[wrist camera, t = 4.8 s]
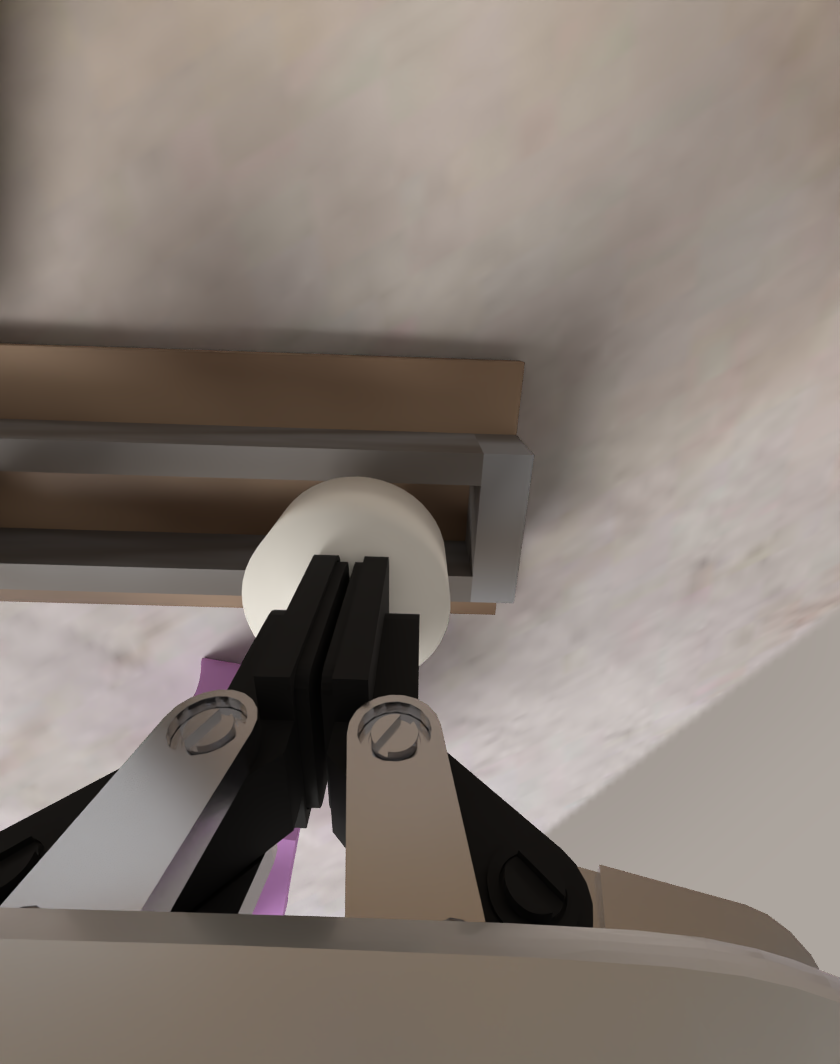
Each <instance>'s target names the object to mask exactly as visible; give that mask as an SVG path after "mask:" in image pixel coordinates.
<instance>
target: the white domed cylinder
mask: <svg viewBox="0 0 840 1064" xmlns="http://www.w3.org/2000/svg"><path fill="white" fill-rule="evenodd" d="M314 555H339V557H340V562H348V565H349V580H350V577H351V574H352V571H353V567H354V564H355V562H363V560H364V557H365V556H374V557H389V613H400V614H420V624H419V666H420V665H421V664H422V663H423V662H425V661H426V660H427V659H428V658H429V657H430V656H431V654H432V653H433V652H434V651H435V650H436V648H437V647H438V645H439V644H440V642H441V640H442V638H443V636H444V634H445V632H446V629H447V625H448V622H449V616H450V591H449V582H448V572H447V563H446V554H445V547H444V541H443V538H442V535H441V531H440V529H439V527H438V525H437V523H436V521H435V520H434V518H433V517H432V515H431V514H430V512H429V511H428V510H427V509H426V508H425V506H424V505H423V504H422V503H421V502H419V501H418V500H417V499H416V498H415V497H414V496H412V495H411V494H409V493H408V492H406V491H405V490H403V489H401V488H399V487H397V486H395V485H393V484H391V483H388V482H385V481H382V480H378V479H374V478H368V477H358V476H357V477H341V478H335V479H331V480H328V481H324V482H321V483H319V484H317V485H315V486H313V487H311V488H309V489H308V490H306V491H304V492H303V493H301V494H300V495H299V496H298V497H297V498H296V499H294V500H293V502H292V503H291V504H290V505H289V506H288V507H287V508H286V510H285V511H284V512H283V514H282V515H281V516H280V518H279V519H278V520H277V522H276V523H275V524H274V526H273V527H272V529H271V530H270V531H269V533H268V534H267V535H266V537H265V538H264V539H263V541H262V542H261V543H260V545H259V546H258V547H257V549H256V550H255V552H254V553H253V555H252V557H251V558H250V560H249V563H248V565H247V567H246V570H245V574H244V578H243V583H242V604H243V609H244V613H245V617H246V619H247V622H248V624H249V627H250V629H251V630H252V632H253V634H254V636H255V638H256V636H257V635H258V633H259V631H260V629H261V627H262V625H263V624H264V622H265V620H266V618H267V616H268V615H269V613H270V612H271V611H272V610H287V608H288V606H289V604H290V602H291V600H292V597H293V595H294V593H295V591H296V589H297V587H298V585H299V583H300V581H301V579H302V577H303V575H304V573H305V571H306V569H307V567H308V565H309V563H310V561H311V559H312V557H313V556H314Z"/></svg>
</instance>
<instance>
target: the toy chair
mask: <svg viewBox="0 0 840 1064" xmlns="http://www.w3.org/2000/svg"><path fill="white" fill-rule="evenodd" d="M240 665H241V664H237V663H231V662H226V661H220V660H214V659H208V658H202V661H201V674H200V681H199V684H198V687H197V690H196V692H195V694H194V696H196V695H199V694H202V693H204V692H209V691H214V690H227V689H228V687H229V685H230V684H231V682H232V680H233V678H234V676H235V675H236V673H237V671H238V669H239V667H240ZM194 696H193V697H194ZM299 832H300V828H294V831H292V832H291V833H290V834H289V835H287V836H286V837H285V838H283V839H282V840H281V841H280V842H278V843H277V853H276V857H275V861H274V864H273V866H272V868H271V871H270V873H269V876H268V878H267V880H266V883H265V885H264V887H263V890H262V892H261V894H260V897H259V899H258V901H257V904H256V906H255V909H254V911H253V913H252V914H254V915H284V914H285V911H286V906H287V902H288V893H289V887H290V881H291V875H292V869H293V864H294V858H295V853H296V848H297V843H298V837H299Z"/></svg>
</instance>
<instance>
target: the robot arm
mask: <svg viewBox="0 0 840 1064" xmlns="http://www.w3.org/2000/svg"><path fill="white" fill-rule="evenodd" d="M419 624H420V614H400V613H389V557H374V556H365V557H364V560H363V562H355V564H354V567H353V571H352V574H351V577H350V580H349V565H348V562H340V557H339V555H314V556H313V557H312V559H311V561H310V563H309V565H308V567H307V569H306V571H305V573H304V575H303V577H302V579H301V581H300V583H299V585H298V587H297V589H296V591H295V593H294V595H293V597H292V600H291V602H290V604H289V606H288V608H287V610H272V611H271V612H270V613H269V615H268V616H267V618H266V620H265V622H264V624H263V625H262V627H261V629H260V631H259V633H258V635H257V636H256V638H255V640H254V642H253V644H252V645H251V647H250V649H249V651H248V653H247V655H246V656H245V658H244V660H243V662H242V664H241V665H240V667H239V669H238V671H237V673H236V675H235V676H234V678H233V680H232V682H231V684H230V685H229V687H228V689H227V690H214V691H209V692H204V693H202V694H199V695H196V696H194V697H191V698H189V699H187V700H186V701H184V702H182V703H181V704H179V705H178V706H176V707H175V708H174V709H173V710H172V711H171V712H169V713H168V714H167V715H166V716H165V717H164V718H163V719H162V721H161V722H160V723H159V724H158V725H157V726H156V727H155V729H154V730H153V731H152V732H151V733H150V734H149V735H148V737H147V738H146V739H145V740H144V741H143V742H142V744H141V745H140V746H139V747H138V748H137V749H136V750H135V752H134V753H133V754H132V755H131V756H130V757H129V758H128V760H127V761H126V762H125V763H124V764H123V765H122V767H121V768H120V769H118V770H116V771H114V772H112V773H110V774H108V775H106V776H105V777H103V778H101V779H99V780H97V781H95V782H93V783H91V784H89V785H88V786H86V787H84V788H82V789H80V790H78V791H76V792H74V793H72V794H70V795H69V796H67V797H65V798H63V799H61V800H59V801H57V802H55V803H53V804H52V805H50V806H48V807H46V808H44V809H42V810H40V811H38V812H36V813H34V814H33V815H31V816H29V817H27V818H25V819H23V820H21V821H19V822H17V823H16V824H14V825H12V826H10V827H8V828H6V829H4V830H2V831H0V1064H840V978H839V977H837V976H834V975H832V974H829V973H826V972H824V971H821V970H819V968H818V966H817V965H816V963H815V961H814V959H813V958H812V956H811V954H810V953H809V952H808V951H807V950H806V949H805V948H804V947H803V945H802V944H801V943H800V942H799V941H798V940H797V939H796V938H795V936H794V935H793V934H792V933H791V932H790V931H788V930H787V929H786V928H785V927H783V926H782V925H781V924H779V923H778V922H777V921H775V920H774V919H772V918H771V917H770V916H769V915H767V914H765V913H763V912H761V911H758V910H756V909H754V908H752V907H749V906H747V905H745V904H741V903H737V902H734V901H730V900H726V899H722V898H719V897H716V896H712V895H708V894H704V893H701V892H697V891H694V890H690V889H687V888H683V887H679V886H675V885H672V884H668V883H665V882H661V881H657V880H654V879H650V878H647V877H643V876H639V875H636V874H632V873H628V872H625V871H621V870H618V869H614V868H610V867H607V866H603V865H599V868H598V871H597V872H595V871H591V870H588V869H584V868H581V867H577V865H576V864H575V863H574V862H573V861H572V860H571V858H570V857H568V855H567V854H566V853H565V852H564V851H563V850H562V849H561V848H560V847H559V846H557V845H556V844H555V843H554V842H553V841H551V840H550V839H549V838H548V837H547V836H546V835H544V834H543V833H542V832H541V831H540V830H538V829H537V828H536V827H535V826H534V825H533V824H531V823H530V822H529V821H528V820H527V819H525V818H524V817H523V816H522V815H521V814H520V813H518V812H517V811H516V810H515V809H514V808H512V807H511V806H510V805H509V804H508V803H506V802H505V801H504V800H503V799H502V798H501V797H499V796H498V795H497V794H496V793H495V792H493V791H492V790H491V789H490V788H489V787H488V786H486V785H485V784H484V783H483V782H482V781H480V780H479V779H478V778H477V777H476V776H475V775H473V774H472V773H471V772H470V771H469V770H467V769H466V768H465V767H464V766H463V765H462V764H460V763H459V762H458V761H457V760H456V759H454V758H453V757H452V756H451V755H450V754H449V753H447V750H446V745H445V741H444V736H443V732H442V728H441V724H440V722H439V719H438V717H437V715H436V713H435V712H434V711H433V710H432V709H431V708H430V707H429V706H428V705H427V704H425V703H423V702H421V701H420V700H418V677H419ZM327 781H328V794H329V806H330V808H331V815H332V828H333V833H334V834H335V835H336V836H337V838H338V839H339V840H340V842H341V843H342V844H343V845H344V847H345V848H346V878H345V917H320V916H287V915H254V914H252V913H253V911H254V909H255V906H256V904H257V901H258V899H259V897H260V894H261V892H262V890H263V887H264V885H265V883H266V880H267V878H268V876H269V873H270V871H271V868H272V866H273V864H274V861H275V857H276V853H277V843H278V842H280V841H281V840H282V839H283V838H285V837H286V836H287V835H289V834H290V833H291V832H292V831H294V828H307V824H308V820H309V816H310V811H311V808H320V807H321V806H322V803H323V799H324V794H325V790H326V785H327Z"/></svg>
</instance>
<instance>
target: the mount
mask: <svg viewBox="0 0 840 1064" xmlns="http://www.w3.org/2000/svg"><path fill="white" fill-rule="evenodd" d="M524 365H525V363H524V362H521V361H515V360H485V359H455V358H425V357H395V356H365V355H335V354H305V353H275V352H245V351H215V350H185V349H155V348H125V347H95V346H65V345H35V344H5V343H0V601H15V602H51V603H88V604H125V605H161V606H198V607H234V608H243V604H242V583H243V578H244V574H245V570H246V567H247V565H248V563H249V560H250V558H251V557H252V555H253V553H254V552H255V550H256V549H257V547H258V546H259V545H260V543H261V542H262V541H263V539H264V538H265V537H266V535H267V534H268V533H269V531H270V530H271V529H272V527H273V526H274V524H275V523H276V522H277V520H278V519H279V518H280V516H281V515H282V514H283V512H284V511H285V510H286V508H287V507H288V506H289V505H290V504H291V503H292V502H293V500H294V499H296V498H297V497H298V496H299V495H300V494H301V493H303V492H304V491H306V490H308V489H309V488H311V487H313V486H315V485H317V484H319V483H321V482H324V481H328V480H331V479H335V478H341V477H357V476H358V477H368V478H374V479H378V480H382V481H385V482H388V483H391V484H393V485H395V486H397V487H399V488H401V489H403V490H405V491H406V492H408V493H409V494H411V495H412V496H414V497H415V498H416V499H417V500H418V501H419V502H421V503H422V504H423V505H424V506H425V508H426V509H427V510H428V511H429V512H430V514H431V515H432V517H433V518H434V520H435V521H436V523H437V525H438V527H439V529H440V531H441V535H442V538H443V541H444V547H445V554H446V563H447V572H448V582H449V591H450V613H453V614H490V615H495V610H496V603H514V599H515V592H516V585H517V577H518V570H519V563H520V555H521V548H522V541H523V534H524V526H525V519H526V512H527V504H528V497H529V490H530V483H531V475H532V468H533V461H534V454H533V453H532V452H531V451H530V450H529V449H528V448H527V446H526V445H525V444H524V443H523V442H522V441H521V440H520V439H519V437H518V436H517V435H516V433H517V424H518V416H519V407H520V399H521V390H522V382H523V373H524Z"/></svg>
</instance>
